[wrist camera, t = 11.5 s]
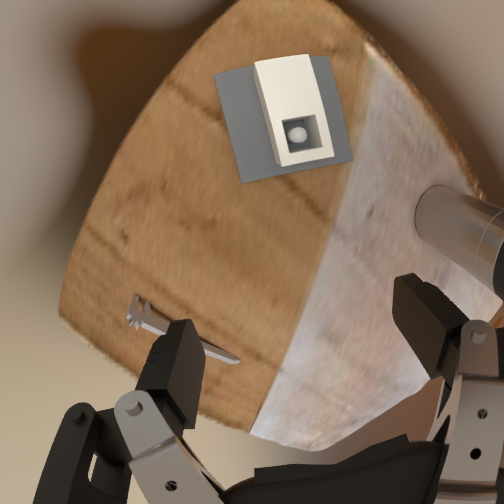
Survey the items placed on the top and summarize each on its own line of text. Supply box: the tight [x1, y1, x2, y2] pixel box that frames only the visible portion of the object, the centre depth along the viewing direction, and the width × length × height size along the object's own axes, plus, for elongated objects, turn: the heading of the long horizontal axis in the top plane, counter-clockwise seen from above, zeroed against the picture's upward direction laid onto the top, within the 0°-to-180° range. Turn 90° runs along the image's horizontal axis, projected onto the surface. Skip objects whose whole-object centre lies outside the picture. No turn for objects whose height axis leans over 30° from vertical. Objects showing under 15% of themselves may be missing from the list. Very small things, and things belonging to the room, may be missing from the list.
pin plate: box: [214, 55, 353, 184], centre depth 27 cm, size 14×14×6 cm
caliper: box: [126, 295, 241, 364], centre depth 39 cm, size 20×1×6 cm, turn 51°
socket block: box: [253, 54, 334, 167], centre depth 26 cm, size 5×11×6 cm, turn 14°
